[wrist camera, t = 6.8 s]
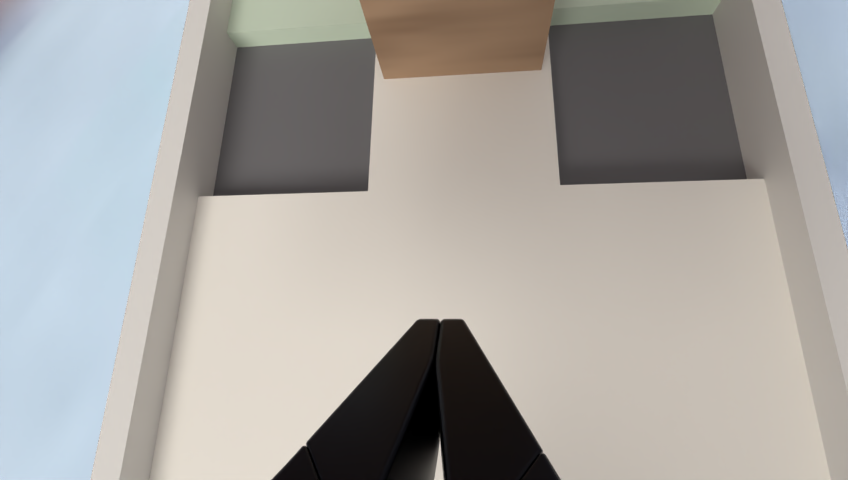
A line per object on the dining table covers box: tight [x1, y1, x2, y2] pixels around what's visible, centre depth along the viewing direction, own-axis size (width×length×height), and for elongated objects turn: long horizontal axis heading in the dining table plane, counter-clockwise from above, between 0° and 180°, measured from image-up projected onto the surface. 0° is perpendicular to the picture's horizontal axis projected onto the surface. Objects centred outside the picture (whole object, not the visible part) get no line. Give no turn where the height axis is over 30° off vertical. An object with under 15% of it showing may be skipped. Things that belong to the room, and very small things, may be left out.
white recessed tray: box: [91, 0, 848, 480], centre depth 22 cm, size 34×29×3 cm
